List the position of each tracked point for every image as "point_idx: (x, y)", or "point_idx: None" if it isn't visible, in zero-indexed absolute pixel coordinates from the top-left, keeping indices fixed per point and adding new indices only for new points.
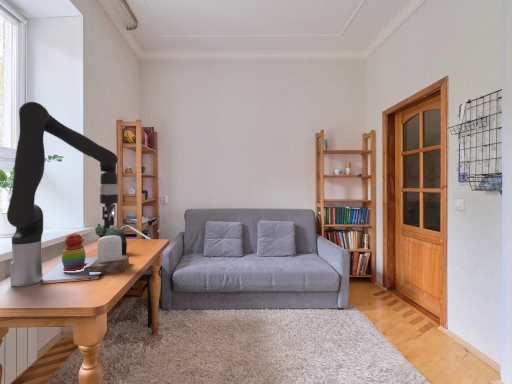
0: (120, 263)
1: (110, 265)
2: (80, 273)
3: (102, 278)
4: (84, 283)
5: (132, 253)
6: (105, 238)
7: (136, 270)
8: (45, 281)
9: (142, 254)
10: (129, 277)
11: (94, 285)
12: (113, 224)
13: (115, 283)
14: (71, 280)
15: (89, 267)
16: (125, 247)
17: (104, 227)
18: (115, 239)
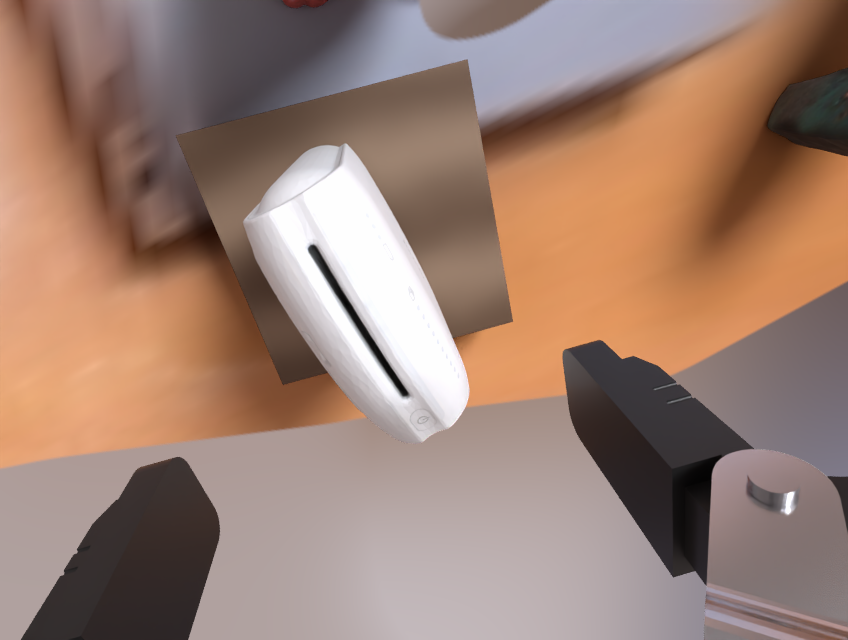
0: (289, 361)
1: (249, 300)
2: (253, 5)
3: (154, 274)
4: (33, 198)
5: (792, 196)
6: (293, 312)
7: (327, 415)
8: None
9: (725, 295)
10: (193, 432)
11: (15, 294)
12: (580, 435)
13: (78, 403)
14: (72, 36)
15: (179, 140)
16: (841, 151)
17: (136, 475)
18: (352, 402)
